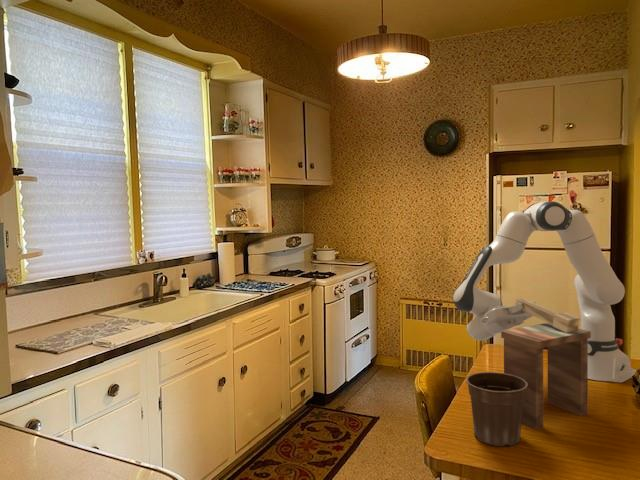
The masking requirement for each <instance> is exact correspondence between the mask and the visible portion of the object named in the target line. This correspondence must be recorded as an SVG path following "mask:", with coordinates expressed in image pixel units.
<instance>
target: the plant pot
mask: <svg viewBox="0 0 640 480" xmlns="http://www.w3.org/2000/svg"><path fill="white" fill-rule="evenodd" d="M465 381H466V384H467V386H468V395H469V396H470V402H471V413H472V414H471V415H472V422H473V434H474V437H476V438H477V440H478V441H480V442H482V443H484V444H486V445H489V446H495V447H504V446H509V447H511V446H515V445H517V444H518V443H520V441H521V433H522V432H521V431H522V423H521V422H522V412H523V402H524V400H525V392H526V388H527V387H528V383H527V382H526V381H525V380H524V379H522V378H520V377H517V376H514V375H510V374H505V373H504V372H497V371H485V372H483V371H482V372H481V371H480V372H476V373H472V374H470V375H468V376H467V377H466V379H465Z"/></svg>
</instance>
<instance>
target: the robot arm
mask: <svg viewBox="0 0 640 480" xmlns="http://www.w3.org/2000/svg"><path fill="white" fill-rule="evenodd" d="M535 231H536V232H537V231H539V232H554V231H555V232H556V233H558V235H559V237H560V240H561V242H562V245H563V248H564V250H565V252H566V255H567V257H568V260H569V262H570V264H571V266H572V267H573V268H574V270H575V271H576V273H577V274H576V276H575V277H574V279H573V285H574V286H573V287H574V288H575V291H576V297H577V302H578V307H579V312H580V329H582V330H586V331H591V338H588V379H589V380H592V381H593V380H594V381H598V382H599V381H600V382H613V383H624V382H625V381H628V380H630V379H631V378H633V377H632V376H633V375H634V374H635V372H636V371H637V369H634V368H632V366H631V359H630V357H629V356H628V355H627V354H626V353H624V352H623V351H621V349H620V348H619V346H618V345H622V344H623V341H624V340H623V339H622V338H617V337H616V319H615V316H614V314H613V311H612V307H611V305H616V304H618V303H620V302H621V301H622V300H623V298H624V297H625V294H626V290H625V286H624V284H623V283H622V282H621V280H620V279H619V278H618V277H617V275H616V273H615V271H614V270H613V268H612V266H611V265H610V263H609V261H608V260H607V258H606V257H605V255H604V253H603V251H602V249H601V247H600V244H599V240H598V239H597V237H596V233H595V232H594V229H593V227H592V225H591V224H590V222H589V220H588V219H587V217H586V215H585V213H583V212H582V211H581V210H578V209H567V207H565V206H564V205H563V204H561V203H560V202H557V201H552V200H551V201H548V200H546V201H545V200H544V201H539V202H536V203H532V204H530V205H528V206H527V207H526V208H525V209H524V210H523V211H511V212H509V213H507V215H506V216H505V217H504V219H503V221H502V223H501V225H500V227H499V229H498V230H497V233H496V235H495V237H494V239H493V241H492V242H491V243H490V244H489V245H488V246H484V247H482V249H480V251H479V253H478V254H477V255H476V257H475V259H474V261H473V262H472V265H471V266H470V268H469V269H468V271H467V273H466V274H465V276H464V278H463V280H462V281H461V282H460V284H458V286H457V287H456V289H455V290H454V292H453V295H452V301H453V303H454V306H455V308H456V309H457V310H458V311H461V312H465V313H470V314H473V317H472V319H471V320H470V321H469V323H467V325H466V332H467V334H468V335H469V336H470V337H471V339H473V340H476V341H485V340H488V339H491V338H493V337H495V336H496V335H497V334H501V331H506V330H510V329H513V328H514V327H516V326H519V325H523V324H524V323H525V321H527V320H528V319H530V318H532V317H533V316H532V315H530V314H528V313H526V312H523V311H521V310H522V309H524V308H525V306H524V304H523V303H521V304H518V305H516V304H514V305H509V306H507V305H503V301H502V300H501V297H500V296H499V295H497V294H495V293H492V292H490V291H487V290H483V289H481V288H477V286H478V284H479V282H480V281H481V280H482V277H483V275H484V273H485V272H486V270H488V268H490V267H491V266H494V265H503V264H505V265H506V264H511V263H514V262H516V261H518V260H519V259H520V258H521V257H522V255H523V254H524V252H525V249H526V245H527V243H528V240H529V238H530V237H531V235H532V234H533V233H534V232H535ZM531 302H532V303H535V304H537V302H535V301H531ZM615 337H616V338H615Z"/></svg>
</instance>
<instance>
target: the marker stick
mask: <svg viewBox="0 0 640 480" xmlns="http://www.w3.org/2000/svg"><path fill="white" fill-rule="evenodd" d="M532 302H533V301H530V300H527V299H525V298H523V297H522V298H517V299H515V305H518V304H521V303H523V304H524V306H525V308H524V309H522V310H521V311H523V312H526V313H528V314H530V315H532V317H535V318H537V319H538V320H541V321H543V322H545V323H550V324H552V325H553V327H555V328H557V329H559V330H562V331H564V332H566V333H567V332H572V331H577V330H578V329H579V327H580V326H579V325H580V322H581V317H578V316H575V315H573V314H571V313H569V312H565V311H564V312H560V313H558V312H556V311H553V310H551V309H549V308H546V307H544V306H541V305H540V304H537V303H536V304H535V303H532Z"/></svg>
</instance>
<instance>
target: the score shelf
mask: <svg viewBox="0 0 640 480" xmlns="http://www.w3.org/2000/svg"><path fill="white" fill-rule="evenodd" d="M500 334H501V335H500V337H501V339H503V373H505V374H510V375H514V376H517V377H520V378H522V379H524V380H525V381H526V382H527V383H528V387H527V388H526V392H525V400H524V402H523V412H522V422H521V424H523V425H525V426H528V427H529V428H532V429H533V430H540V429H543V428H544V348H547V403H548V404H550V405H553V406H555V407H558V408H561V409H563V410H565V411H566V412H567V411H568V412H570V413H572V414H575V415H578V416H580V417H582V416H585V415H588V401H589V400H588V397H589V396H588V395H589V394H588V384H589V381H588V338H591V331H586V330H582V329H581V328H578V330H577V331H572V332H567V333H566V332H564V331H562V330H559V329H557V328H555V327H553V325H552V324H550V323H547V322H545V323H539V324H533V325H528V326H523V327H517V328H510V329H508V330H506V331H501V333H500Z"/></svg>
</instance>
